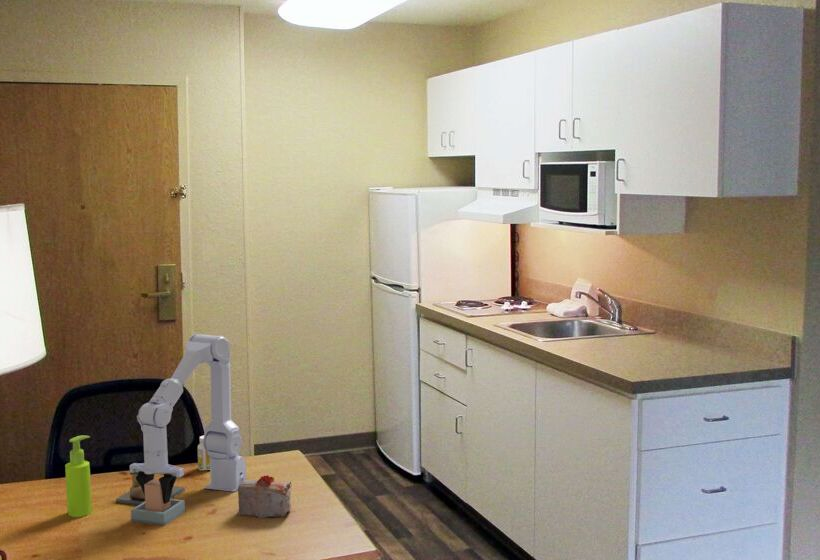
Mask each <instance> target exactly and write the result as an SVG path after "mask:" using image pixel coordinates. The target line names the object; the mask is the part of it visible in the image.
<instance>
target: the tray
mask: <svg viewBox="0 0 820 560" xmlns="http://www.w3.org/2000/svg"><path fill="white" fill-rule="evenodd" d="M170 500H171V507H169V508H168V509H166V510H165V511H163V512H155V511H147V510H145V502H143V503H141V504H140V505H136V506H135V507H133V508H131V509H130V519H131V520H130V521H131V522H134V523H141V524H150V525H157V526H166V525H168V524H169V523H171V522H172V521H174V520H176V518H178V517H180V516H181V515H183V514H184V513H186V504H185V503H186V502H185V501H186V500H183V499H174V498H173V499H170Z"/></svg>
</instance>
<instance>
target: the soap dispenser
mask: <svg viewBox="0 0 820 560" xmlns="http://www.w3.org/2000/svg"><path fill="white" fill-rule="evenodd" d="M89 438H91V436H90V435H83V434H82V435H77V436H75V437H72V438H70V439H69V440H68V441H69V442H68V443H72V449H71V450H69V462H68V463H66V464H65V466H64V467H65V469H64V470H65V471H64V472H65V487H66V489H65V490H66V505H67V506H66V507H67V516H68V515H69V516H68V517H70V516H71V517H70V518H83V517H85V515H86V516H89V515H91V514H92V512H93V507H92V505H93V504H92V487H91V486H92V485H91V468H90V462H89V461H87V460H85V452H84V451H85V450H84V449H83V448H81V441H82V440H85V439H89ZM82 516H83V517H82Z"/></svg>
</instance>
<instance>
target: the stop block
mask: <svg viewBox="0 0 820 560" xmlns="http://www.w3.org/2000/svg"><path fill="white" fill-rule="evenodd" d="M159 479H160V478H154V479H153V480H151V481H149V482H148V483H146V484H144V488H145V510H147V511H155V512H163V511H165V510H166V509H168V508H169V507H171V500H170V501H169V502H168V503H166V504H164V503H163V498H162V489H161V485H160V482H159Z"/></svg>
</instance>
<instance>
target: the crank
mask: <svg viewBox="0 0 820 560" xmlns="http://www.w3.org/2000/svg"><path fill="white" fill-rule="evenodd" d="M129 474H130V476H131V480H132V481H131V482H132V486H130V488H129V491H130V496H131V497H133V498H137V499H145V496H144V493H143V490H142V488H141V486H140V484H139V483H138V481H137V480H136V476H137V475H138V472H134V473H131V472H130V471H129Z"/></svg>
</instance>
